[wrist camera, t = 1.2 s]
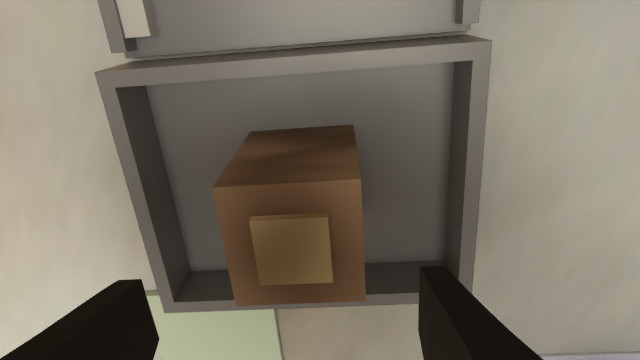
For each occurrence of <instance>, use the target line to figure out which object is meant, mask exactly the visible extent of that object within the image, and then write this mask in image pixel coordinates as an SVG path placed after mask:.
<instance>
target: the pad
mask: <svg viewBox="0 0 640 360" xmlns="http://www.w3.org/2000/svg"><path fill="white" fill-rule="evenodd" d="M145 293H146V297H147V300H148V303H149V306H150V310H151V313H152V316H153V319H154V323H155V326H156V329H157V332H158V336H159V339H160V340H159V343H158V349H159V352H160V355H161V359H162V360H283V355H282V348H281V342H280V335H279V329H278V322H277V316H276V309H264V310H238V311H212V312H186V313H164V311H163V307H162V304H161V300H160V297H159V293H158V291H145Z"/></svg>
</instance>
